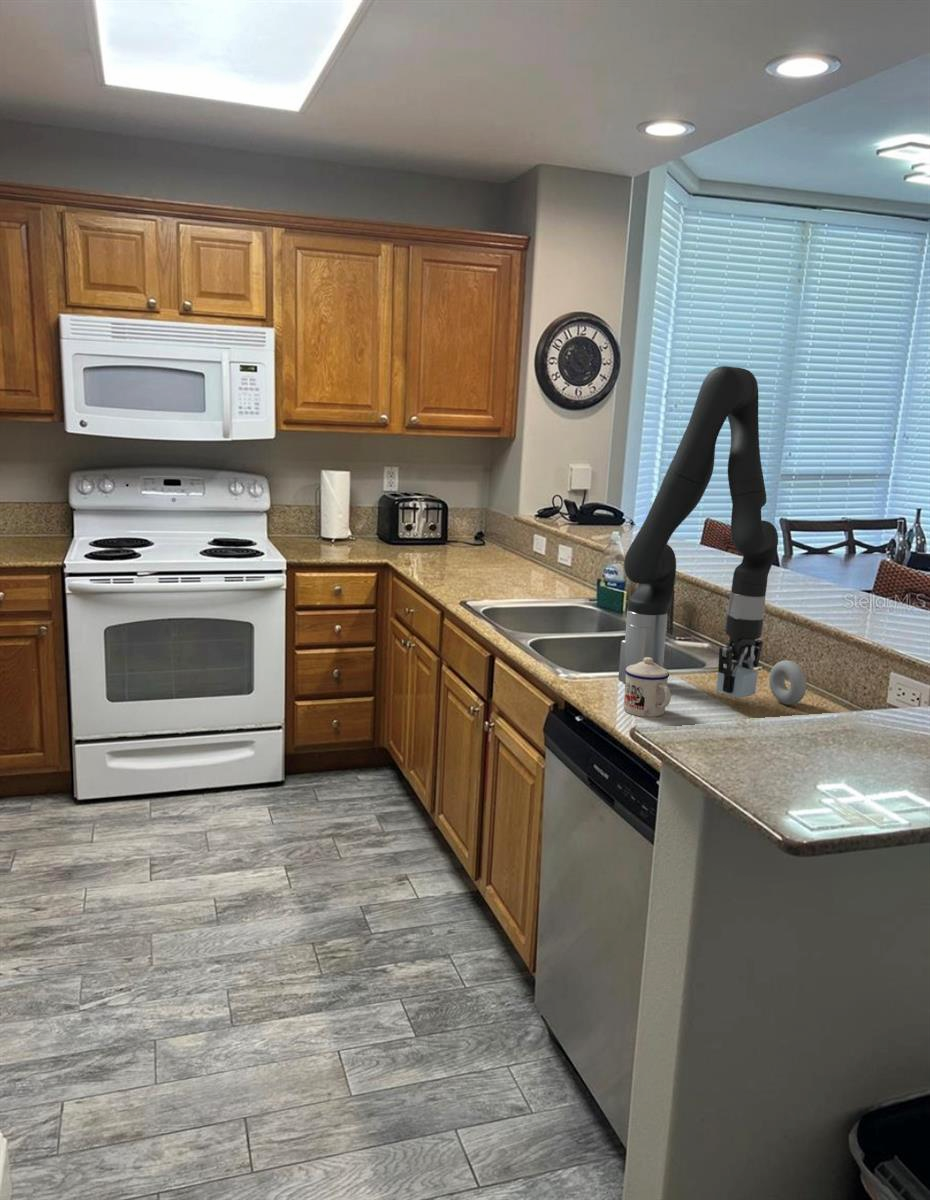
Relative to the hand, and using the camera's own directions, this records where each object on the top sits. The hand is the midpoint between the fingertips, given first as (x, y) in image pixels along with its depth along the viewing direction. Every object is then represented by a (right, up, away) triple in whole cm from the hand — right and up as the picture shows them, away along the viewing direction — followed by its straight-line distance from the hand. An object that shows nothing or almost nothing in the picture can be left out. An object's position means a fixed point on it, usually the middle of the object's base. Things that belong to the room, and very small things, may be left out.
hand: (735, 689), depth 199 cm
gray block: (0, -1, 0) cm, 1 cm away
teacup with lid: (-20, -5, -6) cm, 21 cm away
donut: (+12, -4, +5) cm, 14 cm away
